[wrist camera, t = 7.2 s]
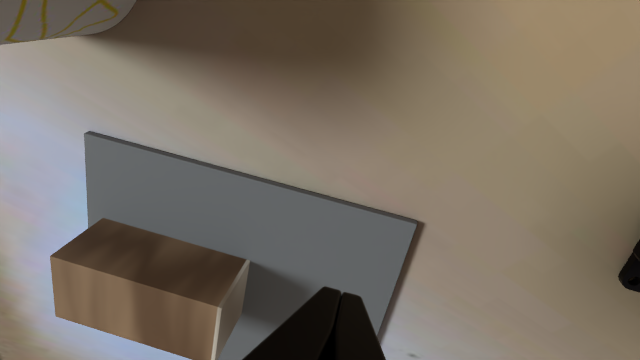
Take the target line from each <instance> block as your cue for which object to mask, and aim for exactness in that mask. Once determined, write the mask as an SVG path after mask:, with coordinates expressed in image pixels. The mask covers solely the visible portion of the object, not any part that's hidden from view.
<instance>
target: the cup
mask: <svg viewBox="0 0 640 360" xmlns="http://www.w3.org/2000/svg"><path fill="white" fill-rule="evenodd" d="M135 2H136V0H0V45H2V44H10V43H19V42H28V41H36V40H45V39H53V38H62V37H71V36H79V35H88V34H95V33H99V32H102V31H105V30H107V29H110V28H111V27H113V26H115V25H116V24H118V23H119V22H120V21H121V20H122V19H123V18H124V17H125V16H126V15H127V14H128V13H129V12H130V10H131V9H132V7H133V6H134V4H135Z"/></svg>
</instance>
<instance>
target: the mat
mask: <svg viewBox="0 0 640 360" xmlns="http://www.w3.org/2000/svg"><path fill="white" fill-rule="evenodd" d="M84 141H85V163H86V186H87V209H88V228H90V227H91V226H92V225H94V224H95V223H96V222H98V221H99V220H101V219H102V218H106V219H109V220H113V221H116V222H120V223H123V224H126V225H130V226H133V227H137V228H140V229H144V230H147V231H150V232H154V233H157V234H161V235H164V236H168V237H171V238H174V239H178V240H181V241H185V242H188V243H192V244H195V245H199V246H202V247H205V248H209V249H212V250H216V251H219V252H223V253H226V254H229V255H233V256H236V257H240V258H243V259H247V260H250V264H249V270H248V276H247V283H246V289H245V295H244V301H243V307H242V314H241V316H240V317H239V319H238V321H237V323H236V325H235V327H234V329H233V331H232V333H231V335H230V337H229V339H228V340H227V342H226V344H225V346H224V348H223V350H222V352H221V354H220V356H219V358H218V360H242V359H243V358H244V357H245V356H246V355H248V354H249V353H250V352H251V351H252V350H253V349H254V348H255V347H256V346H258V345H259V344H260V343H261V342H262V341H263V340H264V339H265V338H266V337H267V336H269V335H270V334H271V333H272V332H273V331H274V330H275V329H276V328H277V327H279V326H280V325H281V324H282V323H283V322H284V321H285V320H286V319H287V318H289V317H290V316H291V315H292V314H293V313H294V312H295V311H296V310H297V309H298V308H300V307H301V306H302V305H303V304H304V303H305V302H306V301H307V300H308V299H310V298H311V297H312V296H313V295H314V294H315V293H316V292H317V291H318V290H320V289H321V288H322V287H324V286H327V287H331V288H334V289H338V290H340V291H341V295H342V293H343V292H348V293H352V294H355V295H359V296H360V297H361V298H362V300H363V302H364V305H365V307H366V310H367V313H368V315H369V318H370V320H371V323H372V325H373V328H374V331H375V333H376V336H377V335H378V332H379V329H380V326H381V324H382V321H383V318H384V315H385V312H386V310H387V307H388V304H389V301H390V298H391V296H392V293H393V290H394V287H395V285H396V282H397V279H398V276H399V273H400V271H401V268H402V265H403V262H404V259H405V257H406V254H407V251H408V248H409V245H410V243H411V240H412V237H413V234H414V231H415V229H416V226H417V221H416V220H413V219H409V218H406V217H402V216H398V215H395V214H391V213H387V212H384V211H380V210H376V209H373V208H369V207H365V206H362V205H358V204H354V203H351V202H347V201H343V200H340V199H336V198H332V197H329V196H325V195H321V194H318V193H314V192H310V191H307V190H303V189H299V188H296V187H292V186H288V185H285V184H281V183H277V182H274V181H270V180H266V179H263V178H259V177H255V176H252V175H248V174H244V173H241V172H237V171H233V170H230V169H226V168H222V167H219V166H215V165H211V164H208V163H204V162H200V161H197V160H193V159H189V158H186V157H182V156H178V155H175V154H171V153H167V152H164V151H160V150H156V149H153V148H149V147H145V146H142V145H138V144H134V143H131V142H127V141H123V140H120V139H116V138H112V137H109V136H105V135H101V134H98V133H94V132H90V131H89V132H86V133H84Z"/></svg>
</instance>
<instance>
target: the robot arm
mask: <svg viewBox="0 0 640 360" xmlns="http://www.w3.org/2000/svg"><path fill="white" fill-rule="evenodd" d="M631 277H636V278H635V279H633V280H629V279H630V278H631ZM618 278H619V281H620V282H621V283H622V285H623V286H624V287H625V288H627V289H629V290H633V291H637V292H640V240H639V241H638V243H637V244H636V246H635V248H634V249H633V253H632V254H631V256H630V257H629V259H628V261H627V262H626V264H625V265H624V267H623V268H622V270H621V271H620V273H619V276H618ZM242 360H386V359H385V356H384V354H383V351H382V349H381V346H380V343H379V341H378V338H377V336H376V333H375V331H374V328H373V325H372V323H371V320H370V318H369V315H368V313H367V310H366V307H365V305H364V302H363V300H362V298H361V297H360V296H359V295H355V294H352V293H348V292H343V293H342V295H341V291H340V290H338V289H334V288H331V287H327V286H324V287H322V288H321V289H320V290H318V291H317V292H316V293H315V294H314V295H313V296H312V297H311V298H310V299H308V300H307V301H306V302H305V303H304V304H303V305H302V306H301V307H300V308H298V309H297V310H296V311H295V312H294V313H293V314H292V315H291V316H290V317H289V318H287V319H286V320H285V321H284V322H283V323H282V324H281V325H280V326H279V327H277V328H276V329H275V330H274V331H273V332H272V333H271V334H270V335H269V336H267V337H266V338H265V339H264V340H263V341H262V342H261V343H260V344H259V345H258V346H256V347H255V348H254V349H253V350H252V351H251V352H250V353H249V354H248V355H246V356H245V357H244V358H243V359H242Z"/></svg>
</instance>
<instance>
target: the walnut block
mask: <svg viewBox="0 0 640 360" xmlns="http://www.w3.org/2000/svg"><path fill="white" fill-rule="evenodd" d="M50 261H51V271H52V282H53V293H54V303H55V314H56V317H60V318H63V319H66V320H69V321H72V322H75V323H78V324H82V325H85V326H88V327H91V328H94V329H97V330H101V331H104V332H107V333H110V334H113V335H116V336H120V337H123V338H126V339H129V340H132V341H135V342H139V343H142V344H145V345H148V346H151V347H154V348H157V349H161V350H164V351H167V352H170V353H173V354H176V355H180V356H183V357H186V358H189V359H192V360H218V358H219V356H220V354H221V352H222V350H223V348H224V346H225V344H226V342H227V340H228V339H229V337H230V335H231V333H232V331H233V329H234V327H235V325H236V323H237V321H238V319H239V317H240V316H241V314H242V307H243V301H244V295H245V289H246V283H247V276H248V270H249V264H250V260H247V259H243V258H240V257H236V256H233V255H229V254H226V253H223V252H219V251H216V250H212V249H209V248H205V247H202V246H199V245H195V244H192V243H188V242H185V241H181V240H178V239H174V238H171V237H168V236H164V235H161V234H157V233H154V232H150V231H147V230H144V229H140V228H137V227H133V226H130V225H126V224H123V223H120V222H116V221H113V220H109V219H106V218H102V219H101V220H99V221H98V222H96V223H95V224H94V225H92V226H91V227H90V228H88V229H87V230H85V231H84V232H83V233H81V234H80V235H79V236H77V237H76V238H74V239H73V240H72V241H70V242H69V243H68V244H66V245H65V246H63V247H62V248H61V249H59V250H58V251H57V252H55V253H54V254H52V255H51V256H50Z"/></svg>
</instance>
